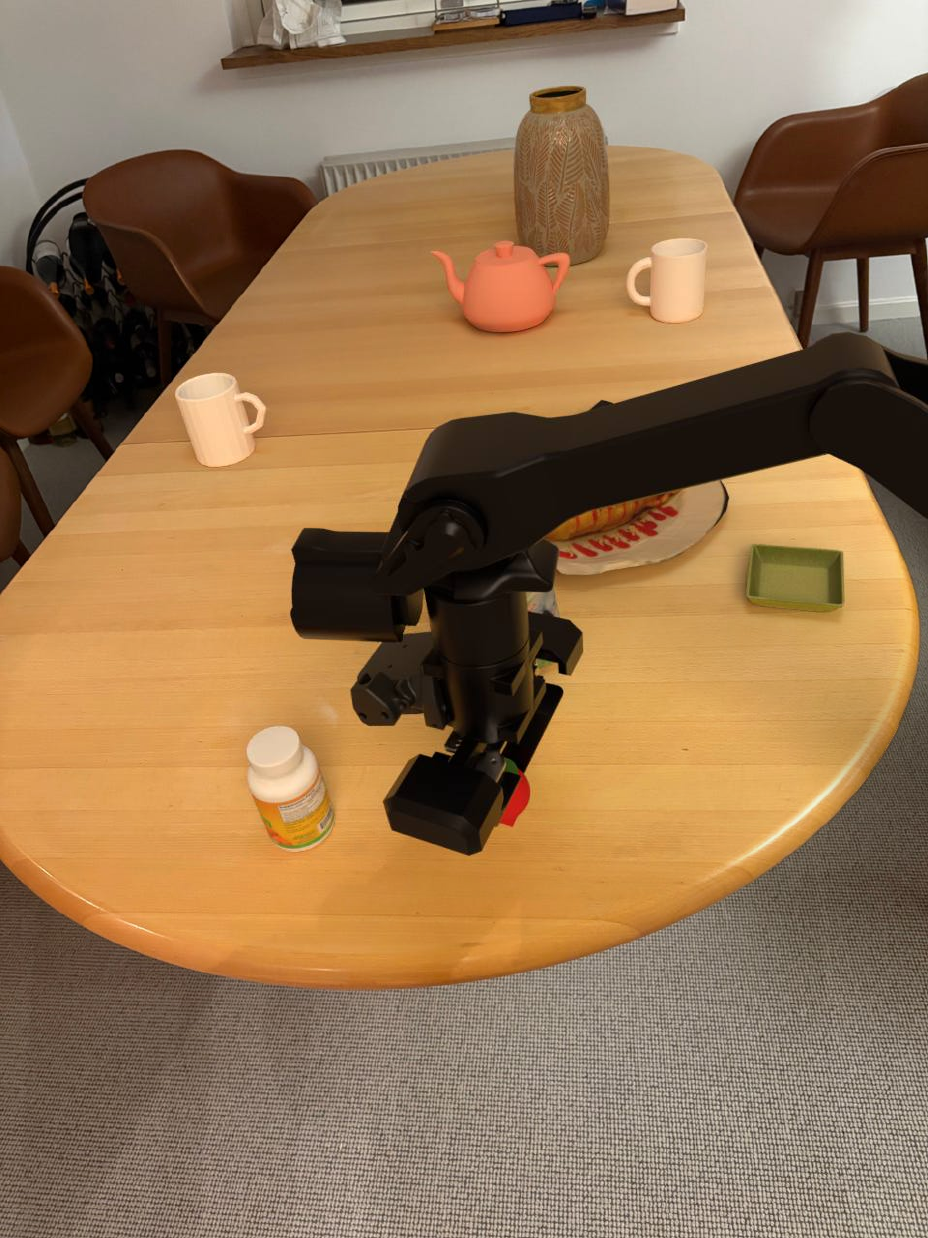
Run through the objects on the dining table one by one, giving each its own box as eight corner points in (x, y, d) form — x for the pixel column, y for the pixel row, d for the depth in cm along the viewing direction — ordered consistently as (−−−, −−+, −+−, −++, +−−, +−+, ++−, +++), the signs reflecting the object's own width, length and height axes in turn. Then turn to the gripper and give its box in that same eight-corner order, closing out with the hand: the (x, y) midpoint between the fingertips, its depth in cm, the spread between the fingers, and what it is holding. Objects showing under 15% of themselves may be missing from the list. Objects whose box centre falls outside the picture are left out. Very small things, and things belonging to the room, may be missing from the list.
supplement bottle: (262, 814, 72) (229, 734, 66) (325, 789, 73) (298, 708, 67) (278, 864, 68) (244, 784, 62) (344, 837, 69) (317, 756, 63)
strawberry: (540, 796, 63) (536, 757, 60) (519, 840, 60) (514, 801, 58) (489, 781, 64) (483, 743, 62) (466, 823, 62) (459, 785, 59)
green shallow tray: (841, 623, 82) (845, 606, 80) (743, 613, 84) (745, 596, 83) (840, 567, 88) (843, 550, 86) (748, 559, 90) (750, 542, 89)
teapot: (432, 342, 142) (421, 264, 134) (447, 306, 153) (437, 232, 145) (569, 334, 138) (566, 254, 130) (574, 298, 149) (571, 222, 141)
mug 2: (625, 326, 138) (625, 259, 131) (626, 306, 144) (626, 241, 138) (704, 323, 136) (708, 254, 129) (702, 302, 142) (706, 236, 135)
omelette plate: (627, 399, 118) (628, 350, 113) (778, 545, 93) (786, 490, 88) (407, 463, 113) (397, 415, 108) (502, 635, 88) (495, 583, 83)
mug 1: (265, 470, 116) (245, 401, 110) (186, 466, 119) (162, 399, 113) (290, 439, 122) (273, 373, 115) (214, 436, 125) (193, 371, 119)
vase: (586, 274, 157) (582, 103, 140) (502, 267, 165) (488, 104, 148) (624, 242, 168) (625, 79, 151) (543, 236, 176) (535, 81, 159)
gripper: (429, 525, 61) (456, 685, 71) (280, 711, 49) (337, 873, 59) (583, 552, 57) (588, 718, 67) (461, 763, 44) (490, 928, 54)
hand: (502, 800), depth 62 cm, fingers closed on strawberry, 4 cm apart
